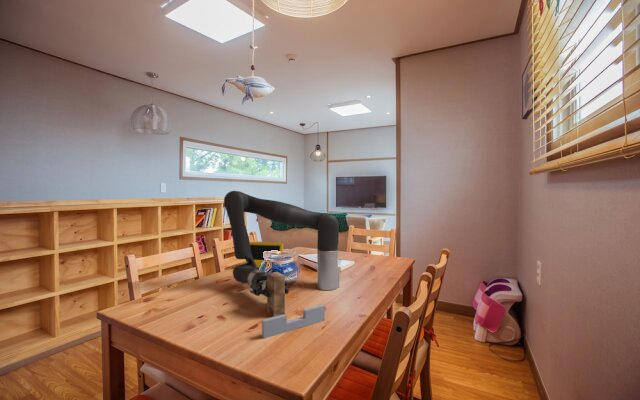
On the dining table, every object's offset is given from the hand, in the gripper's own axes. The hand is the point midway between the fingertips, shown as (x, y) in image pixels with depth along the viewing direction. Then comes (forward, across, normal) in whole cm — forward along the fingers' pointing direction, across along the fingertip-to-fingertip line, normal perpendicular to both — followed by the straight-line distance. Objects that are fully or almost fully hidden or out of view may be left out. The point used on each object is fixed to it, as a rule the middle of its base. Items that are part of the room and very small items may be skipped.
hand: (278, 292), depth 106 cm
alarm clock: (-57, +20, +8) cm, 61 cm away
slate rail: (+12, 0, +8) cm, 14 cm away
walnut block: (-2, 0, +8) cm, 8 cm away
